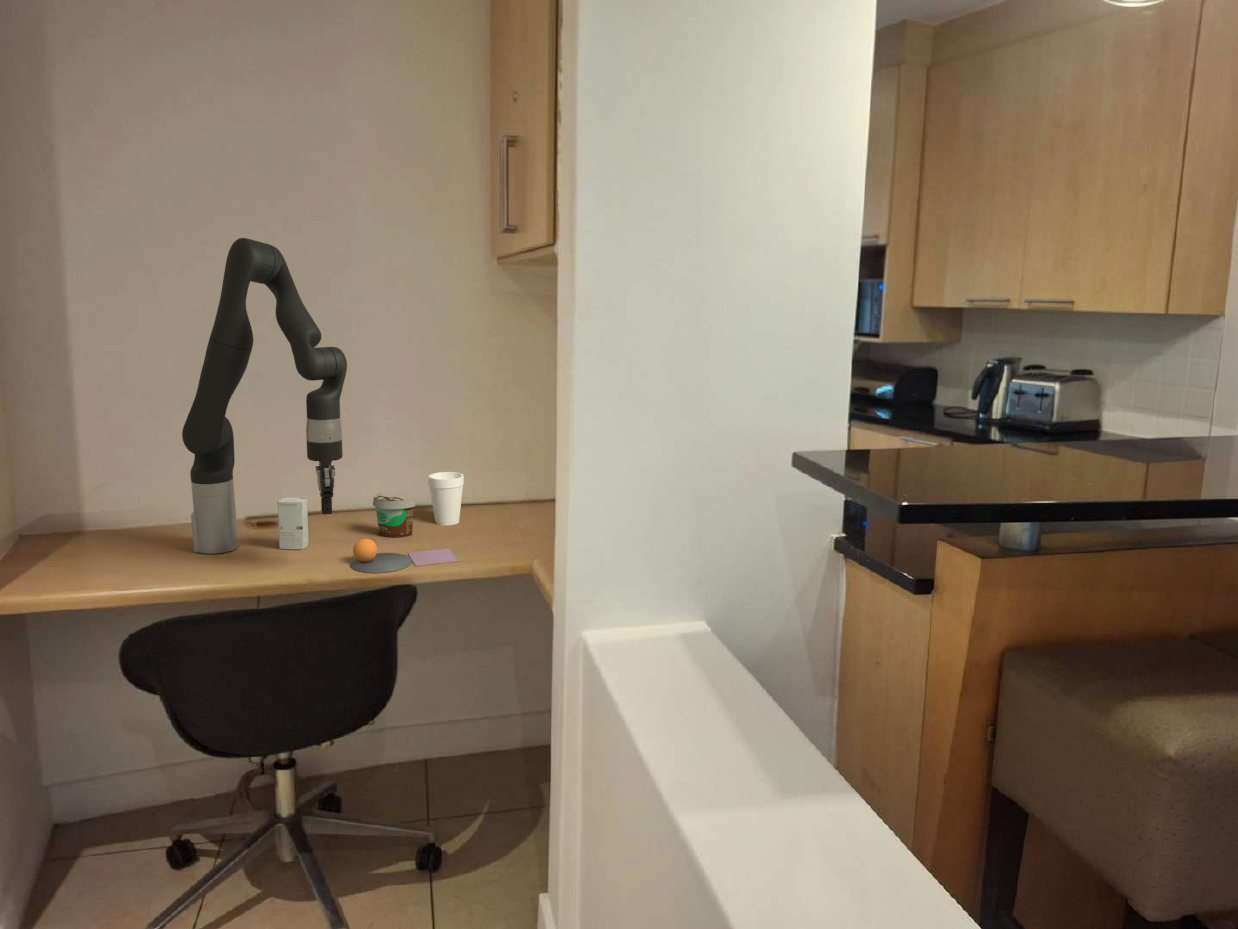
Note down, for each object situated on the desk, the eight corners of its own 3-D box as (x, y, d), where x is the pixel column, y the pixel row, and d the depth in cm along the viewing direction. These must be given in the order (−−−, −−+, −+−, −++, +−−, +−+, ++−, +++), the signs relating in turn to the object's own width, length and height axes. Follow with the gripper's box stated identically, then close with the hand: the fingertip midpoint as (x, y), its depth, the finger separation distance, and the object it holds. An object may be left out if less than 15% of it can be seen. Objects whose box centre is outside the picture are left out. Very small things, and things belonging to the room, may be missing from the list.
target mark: (354, 576, 199) (354, 575, 199) (347, 557, 211) (347, 556, 211) (417, 569, 204) (417, 568, 204) (406, 551, 217) (406, 550, 217)
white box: (279, 549, 216) (275, 501, 214) (285, 544, 221) (281, 496, 218) (304, 549, 216) (301, 501, 214) (310, 544, 221) (307, 497, 218)
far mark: (415, 566, 206) (415, 565, 206) (408, 553, 215) (408, 552, 215) (458, 561, 210) (458, 560, 210) (449, 549, 219) (449, 548, 219)
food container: (363, 534, 229) (361, 497, 227) (380, 528, 235) (378, 492, 233) (400, 542, 224) (399, 503, 222) (416, 535, 229) (415, 498, 227)
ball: (371, 531, 208) (385, 547, 210) (355, 537, 210) (370, 553, 213) (359, 547, 203) (375, 563, 206) (344, 552, 206) (359, 569, 208)
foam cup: (431, 517, 246) (430, 471, 243) (465, 517, 247) (464, 471, 244) (428, 527, 237) (426, 480, 234) (463, 526, 238) (462, 479, 235)
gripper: (344, 442, 192) (346, 520, 196) (339, 431, 204) (341, 504, 207) (308, 444, 189) (311, 522, 193) (304, 433, 201) (307, 506, 205)
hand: (326, 513), depth 200 cm, fingers closed
